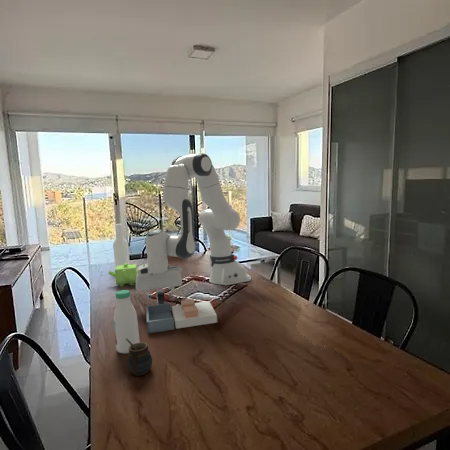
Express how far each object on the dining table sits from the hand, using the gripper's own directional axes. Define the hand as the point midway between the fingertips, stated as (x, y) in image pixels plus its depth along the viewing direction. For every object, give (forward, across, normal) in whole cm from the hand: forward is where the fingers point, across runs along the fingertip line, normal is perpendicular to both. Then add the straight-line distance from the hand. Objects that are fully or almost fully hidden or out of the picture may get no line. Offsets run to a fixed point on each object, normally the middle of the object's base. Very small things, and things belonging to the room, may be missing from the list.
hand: (160, 297), depth 155 cm
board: (+4, -12, +18) cm, 22 cm away
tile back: (+1, -11, +14) cm, 18 cm away
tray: (+4, +1, +18) cm, 18 cm away
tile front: (+1, -11, +22) cm, 24 cm away
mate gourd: (+5, +9, +52) cm, 53 cm away
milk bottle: (+5, +13, +36) cm, 38 cm away
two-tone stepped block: (+4, 0, 0) cm, 4 cm away
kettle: (+4, +16, -41) cm, 44 cm away
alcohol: (+4, +20, -70) cm, 73 cm away
